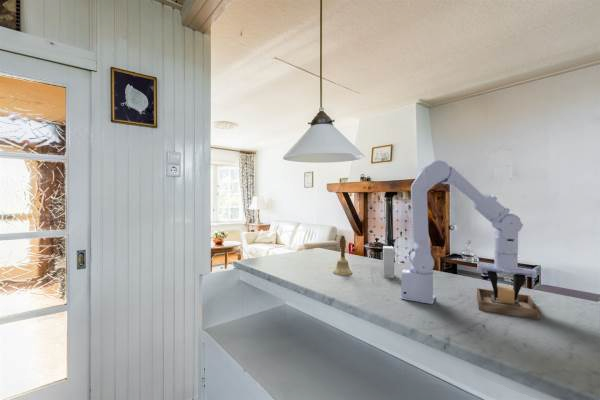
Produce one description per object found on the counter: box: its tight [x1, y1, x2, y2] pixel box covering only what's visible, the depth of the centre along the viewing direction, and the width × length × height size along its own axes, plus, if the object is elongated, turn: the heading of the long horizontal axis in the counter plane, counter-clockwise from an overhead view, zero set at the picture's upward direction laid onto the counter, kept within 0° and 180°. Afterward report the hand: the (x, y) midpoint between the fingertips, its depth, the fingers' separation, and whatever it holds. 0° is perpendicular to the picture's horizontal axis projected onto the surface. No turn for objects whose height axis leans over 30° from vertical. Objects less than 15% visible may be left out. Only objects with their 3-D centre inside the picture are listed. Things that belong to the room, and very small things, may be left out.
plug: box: [496, 285, 515, 304], centre depth 88 cm, size 4×4×4 cm
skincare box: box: [381, 245, 396, 279], centre depth 120 cm, size 6×4×12 cm
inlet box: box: [476, 287, 541, 321], centre depth 88 cm, size 14×14×2 cm
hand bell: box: [332, 235, 353, 276], centre depth 125 cm, size 8×8×16 cm
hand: (505, 297), depth 88 cm, fingers open, 4 cm apart
